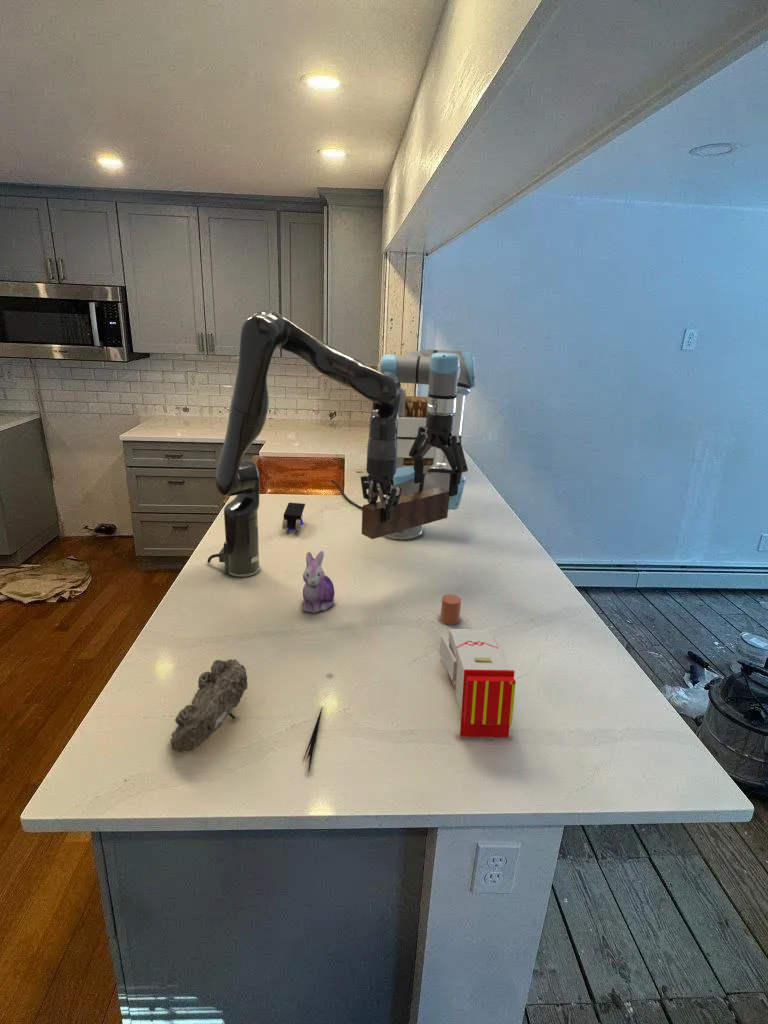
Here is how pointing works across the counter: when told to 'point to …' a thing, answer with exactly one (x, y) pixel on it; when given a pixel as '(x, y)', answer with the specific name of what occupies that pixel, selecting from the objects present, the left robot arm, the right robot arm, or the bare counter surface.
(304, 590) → the figurine
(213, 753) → the counter surface
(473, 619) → the counter surface
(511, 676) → the toy
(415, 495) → the bar
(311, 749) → the feather
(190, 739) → the fossil
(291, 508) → the figurine character
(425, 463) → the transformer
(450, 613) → the cylinder block
